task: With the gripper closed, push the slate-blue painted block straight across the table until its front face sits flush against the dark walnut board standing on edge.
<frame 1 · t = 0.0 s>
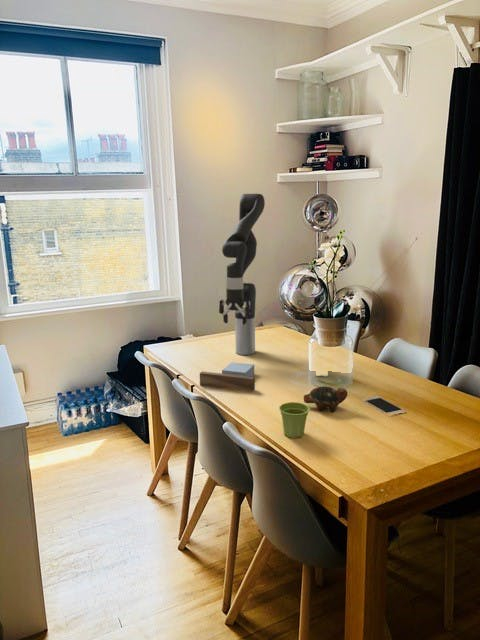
hand: (235, 323, 230), 17 cm above the table, tool pointing down, fingers open, 8 cm apart
plant pot: (294, 434, 161), on the table
decorative turtle: (325, 408, 181), on the table
smartphone: (383, 408, 181), on the table
block: (238, 377, 213), on the table
board: (227, 387, 202), on the table
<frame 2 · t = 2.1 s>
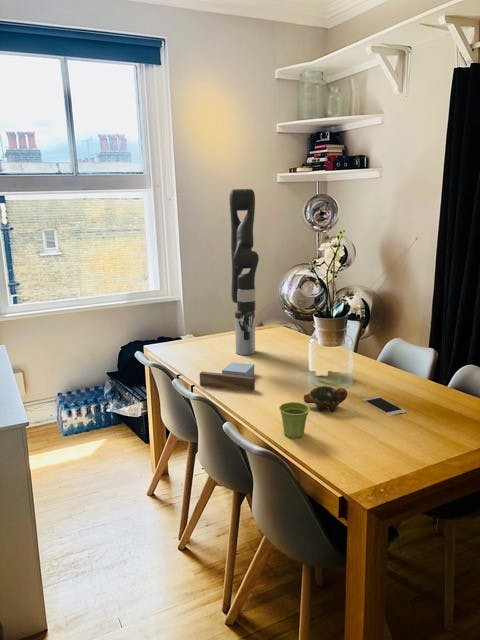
hand: (246, 339, 220), 13 cm above the table, tool pointing down, fingers closed
nothing on the table moved.
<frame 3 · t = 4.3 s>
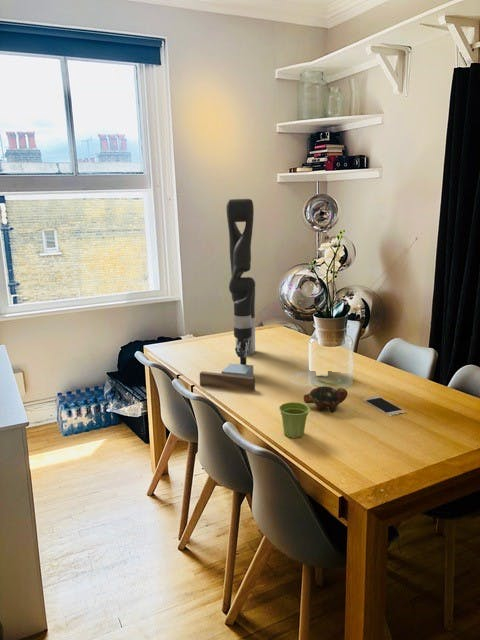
hand: (243, 365, 218), 3 cm above the table, tool pointing down, fingers closed
block: (237, 378, 212), on the table
everything else where it was.
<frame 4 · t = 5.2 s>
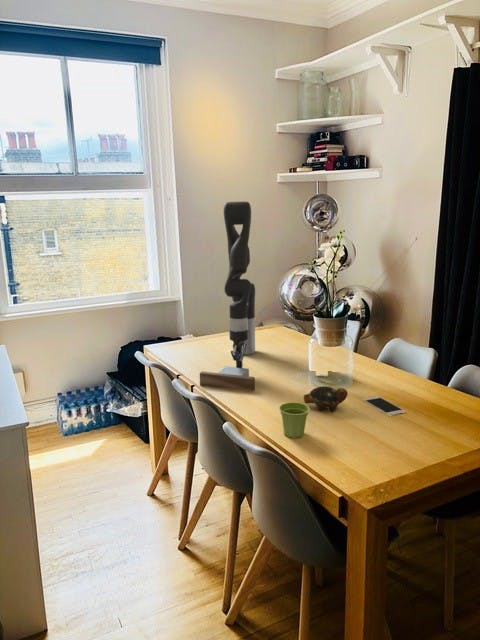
hand: (239, 368, 213), 3 cm above the table, tool pointing down, fingers closed
block: (232, 382, 208), on the table, touching gripper
everything else where it was.
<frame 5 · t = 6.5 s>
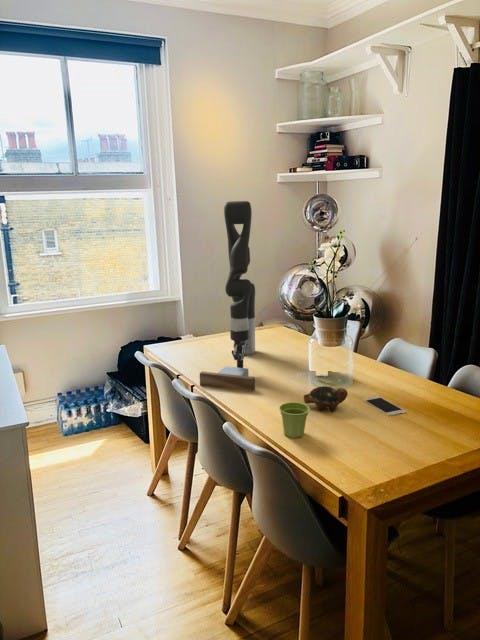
hand: (240, 368, 215), 3 cm above the table, tool pointing down, fingers closed
block: (232, 382, 208), on the table
everything else where it was.
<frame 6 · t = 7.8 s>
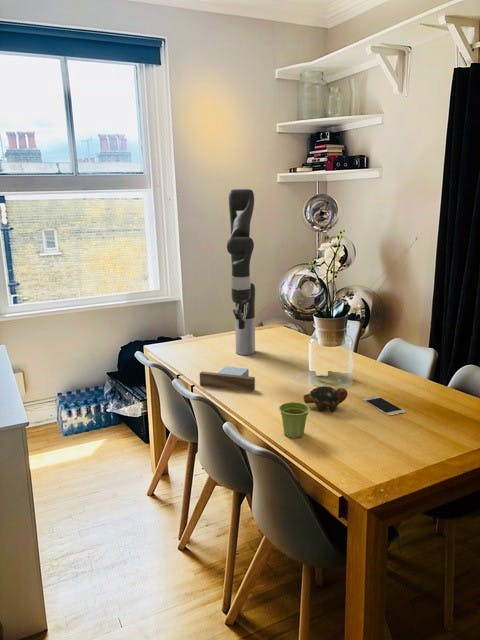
hand: (241, 328, 213), 19 cm above the table, tool pointing down, fingers closed
nothing on the table moved.
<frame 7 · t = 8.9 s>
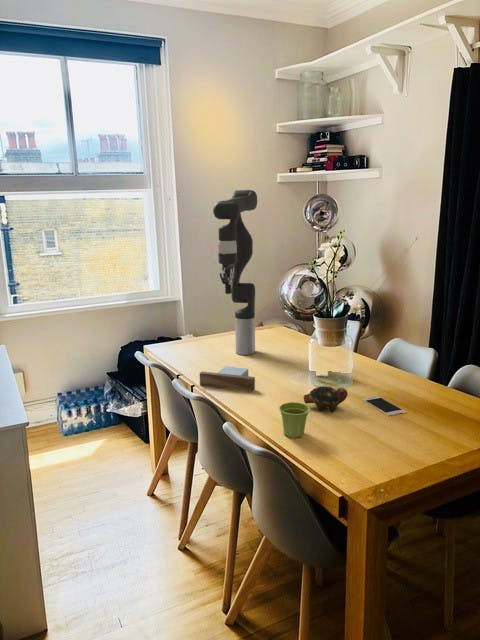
hand: (228, 293, 215), 33 cm above the table, tool pointing down, fingers closed
nothing on the table moved.
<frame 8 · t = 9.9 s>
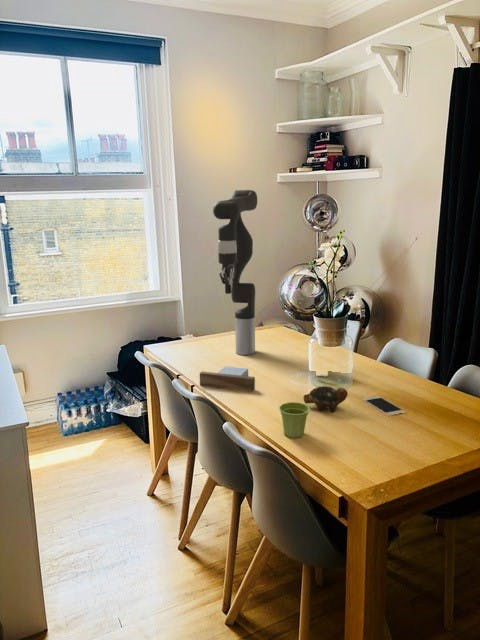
hand: (228, 293, 215), 33 cm above the table, tool pointing down, fingers closed
nothing on the table moved.
at the end: block inside the target area on the table beside the board (0.7 cm from its centre), on the table; block tilted 0° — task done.
